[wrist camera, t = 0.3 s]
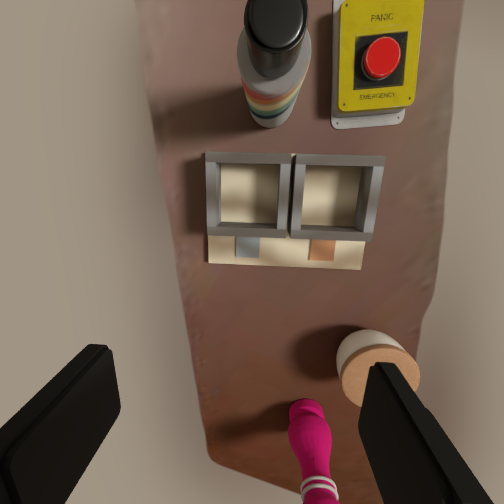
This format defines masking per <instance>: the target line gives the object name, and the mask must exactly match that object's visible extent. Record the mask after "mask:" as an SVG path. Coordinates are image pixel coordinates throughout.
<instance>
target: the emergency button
mask: <svg viewBox="0 0 504 504" xmlns="http://www.w3.org/2000/svg"><path fill="white" fill-rule="evenodd" d="M423 10H424V0H334V1H333V43H332V96H331V123H332V126H333V127H334V128H335V129H349V128H362V127H374V126H386V125H396V124H399V123H400V122H401V121H402V120H403V118H404V115H405V108H406V107H408V106H409V105H410V104H411V103H412V102H413V101H414V98H415V90H416V80H417V70H418V60H419V50H420V40H421V30H422V20H423Z"/></svg>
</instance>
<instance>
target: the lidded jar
mask: <svg viewBox="0 0 504 504" xmlns="http://www.w3.org/2000/svg"><path fill="white" fill-rule="evenodd" d="M376 362H391V363H395V364H396V366H397V367H398V368H399V370H400V371H401V373H402V374H403V376H404V377H405V379H406V380H407V382H408V383H409V385H410V386H411V388H412V389H413V391H414V392H415V391H416V389H417V387H418V385H419V380H420V372H419V368H418V365H417V364H416V362H415V361H414V359H413V358H412V357H411V356H410V355H409V354H408V353H407V352H406V351H405V350H404V348H403V347H402V346H401V345H400V344H399V343H397V342H396V341H395V340H394V339H392V338H391V337H390V336H388V335H386V334H384V333H382V332H379V331H375V330H359V331H355V332H353V333H351V334H350V335H348V336H347V337H346V338H345V339H344V340H343V341H342V342H341V344H340V346H339V348H338V351H337V356H336V364H337V371H338V375H339V378H340V383H341V386H342V389H343V392H344V394H345V395H346V396H347V398H348V399H349V400H350V401H351V402H353V403H354V404H356V405H358V406H360V407H362V402H363V397H364V392H365V387H366V382H367V377H368V372H369V368H370V366H374V364H375V363H376Z"/></svg>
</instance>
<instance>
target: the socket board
mask: <svg viewBox="0 0 504 504" xmlns="http://www.w3.org/2000/svg"><path fill="white" fill-rule="evenodd" d="M385 158H386V156H369V155H328V154H288V153H248V152H207V151H205V162H206V205H207V235H208V256H209V263H222V264H245V265H267V266H289V267H312V268H334V269H356V270H361V265H362V258H363V252H364V246H365V242H371V241H372V235H373V229H374V224H375V218H376V212H377V206H378V200H379V194H380V188H381V182H382V176H383V170H384V164H385Z"/></svg>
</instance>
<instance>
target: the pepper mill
mask: <svg viewBox="0 0 504 504" xmlns="http://www.w3.org/2000/svg"><path fill="white" fill-rule="evenodd" d="M289 418H290V425H289V428H288V436H289V442H290V445H291V447H292V450H293V452H294V453H295V455H296V457H297V459H298V461H299V463H300V466H301V471H302V477H303V482H302V484H301V488H300V489H301V493H302V494H301V498H302V501H303V504H340V503H339V501H338V493H337V488H336V485H335V483H334V482H333V481H332V480H331V477H330V471H329V458H330V452H331V444H332V437H331V431H330V428H329V426H328V424H327V422H326V421H325V420H324V414H323V410H322V407H321V406H320V405H319V404H318V403H317V402H316V401H313V400H311V399H301V400H298V401H296V402H294V403H293V404H292V405H291V407H290V409H289Z"/></svg>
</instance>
